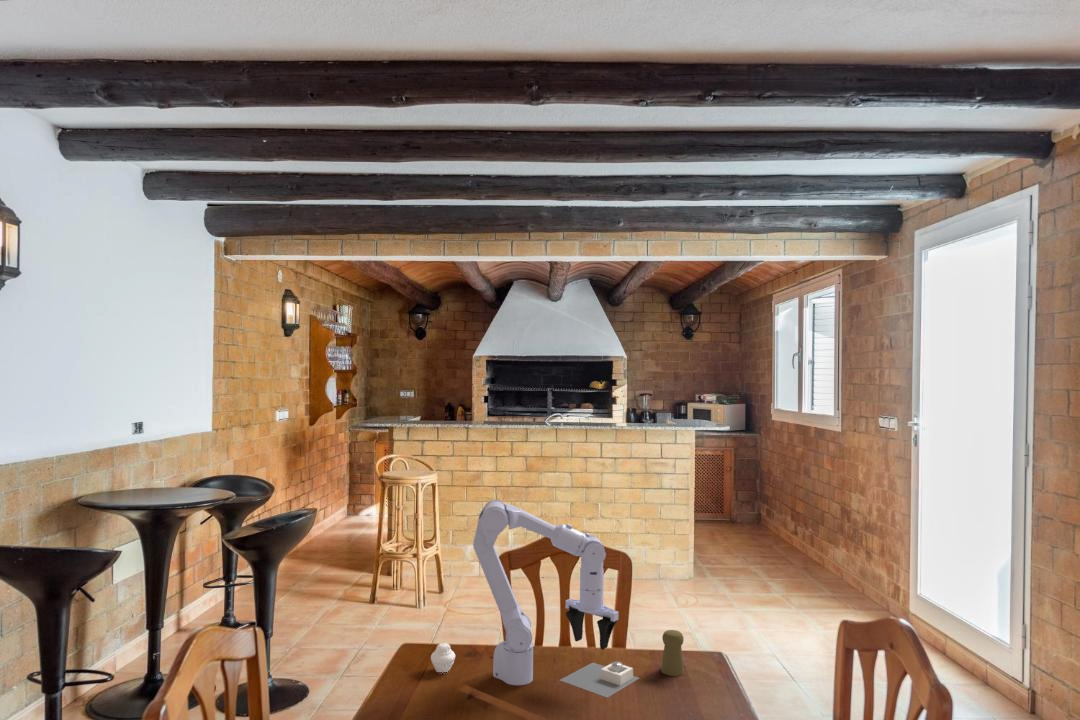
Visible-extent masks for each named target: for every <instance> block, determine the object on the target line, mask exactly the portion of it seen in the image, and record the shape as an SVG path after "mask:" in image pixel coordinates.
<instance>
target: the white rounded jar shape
mask: <svg viewBox="0 0 1080 720" xmlns="http://www.w3.org/2000/svg"><path fill="white" fill-rule="evenodd" d="M430 660H431V663H432V665H433V668H434V669H435V672H436V673H438V672H442V673H443V672H447V673H449V672H450V671H449V670H451V668H452V666H453V665H454V663H455V660H456V654H455V652H454V651H453V650H452V649H451V645H450V644H449V643H448V642H447V643H446V642H442V643H438V644H437V646H436V649H435V650H434V651H433V652H432V653H431V656H430ZM448 671H449V672H448ZM442 673H441V674H442ZM443 674H444V673H443Z"/></svg>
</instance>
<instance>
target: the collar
mask: <svg viewBox="0 0 1080 720" xmlns="http://www.w3.org/2000/svg"><path fill="white" fill-rule="evenodd" d="M633 676H634V668H633V667H630V666H628V665H625V664H623V666H622V672H621V673H617V672H614V671H612V662H611V663H610V664H608V665H606V666H605V667H604V668H602V669H601V679H602V680H605V681H608V682H611V683H614V684H617V685H620V686H621V685H622V684H624V683H626V682H627V681H629V680H631V679H632V678H633Z"/></svg>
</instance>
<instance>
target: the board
mask: <svg viewBox="0 0 1080 720" xmlns="http://www.w3.org/2000/svg"><path fill="white" fill-rule="evenodd" d="M604 667H606V666H605V665H602V664H600V663H599V664H598V663H596V662H591V663H589V664H587V665H585V666H583V667H582V668H579V669H578V670H576V671H574V672H572V673H570V674H568V675H566V676H565V677H562V678H561V679H559V681H560V682H563V683H566V684H567V685H571V686H574V687H576V688H579V689H581V690H585V691H587V692H590V693H593V694H596V695H599V696H601V697H604V698H610V697H611V696H612V695H615V694H616V693H618V692H620V691H621V690H622V689H624V688H626V687H629V685H631V684H633V683H634V682H636V681H638V680H639V679H640V677H638V676H636V675H635V676H634V675H633V678H632V679H631V680H629V681H627V682H626V683H624V684H622V685H621V686H620V685H617V684H614V683H611V682H608V681H605V680H602V679H601V669H602V668H604Z"/></svg>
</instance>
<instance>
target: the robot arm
mask: <svg viewBox="0 0 1080 720" xmlns="http://www.w3.org/2000/svg"><path fill="white" fill-rule="evenodd" d="M507 526H508V530H513V529H517V528H524V529H526V530H528V531H531V532H533V533H536V534H538V535H540V536H543V537H545V538H548V539H550V541H551V544H552V546H553V547H555V548H557V549H559V550H562V551H564V552H567V553H568V554H570V555H572V556H575V557H581V558H580V569H579V571H580V572H579V600H578V599H572V598H568V599H566V600H565V606H564V608H565V609H566V610H567V611H566V612H565V616H566V617H567V620H568V622H569V623H570V626H571V629H572V633H573V637H574V641H575V642H578V641H581V640H582V639H583V633H584V631H583V630H584V619H585V614H588V615H592V616H596V617H600V618H601V619H599V620H597V621H596V624H597V627H598V631H599V648H600V650H605V649H607V648H608V647H609V642H610V637H611V635H612V632H613V630H614V628H615V626H616V624H617V623H618V621H619V611H618V610H614V609H612V608H610V607H609V606H606V605H604V580H605V579H604V574H605V572H604V570H605V569H604V561H605V559H606V557H607V553H606V550H605V547H604V545H603V543H602V542H601V540H600V539H599V538H598V537H596V536H595V535H592V534H590V533H588V532H585V533H584V532H582V531H579V530H577V529H575V528H573V525H572V524H570V523H567V524H564V523H560V524H558V525H554V524H552V523H550V522H548V521H546V520H543V519H541V518H540V517H537V516H536V515H534V514H532V513H529V512H528V511H526V510H524V509H522V508H520V507H517V506H515V505H513V504H510V503H506V504H505V503H504V502H503V501H502V500H498V499H493V500H490V501H488V502H487V503H485V505H484V506H483V508H482V510H481V511H480V513H479V516H478V521H477V523H476V529H475V534H474V539H473V543H472V545H473V549H474V552H475V555H476V558H477V559H478V562H479V564H480V567H481V569H482V571H483V574H484V577H485V579H486V582H487V584H488V586H489V588H490V590H491V591H490V592H491V594H492V595H493V600H494V601H495V603H496V606H497V608H498V611H499V613H500V617H501V620H502V625H503V627H504V630H505V640H504V641H500V642H499V643H498V644H497V645H496V646H495V649H494V652H493V661H492V662H493V663H492V665H493V666H492V667H493V670H492V673H493V674H492V676H493V677H494V678H495V679H498V680H501V681H502V682H504V683H506V684H508V685H512V686H524V685H528V684H530V683H532V682H533V679H534V677H533V676H534V643H533V633H532V628H531V627H532V622H531V620H530V618H529V616H527V614H525V613H524V612H523V611H522V608H521V606H520V604H519V603H518V601H517V598H516V595H515V594H514V591H513V588H512V586H511V583H510V582H509V579H508V576H507V574H506V571H505V568H504V566H503V564H502V562H501V559H500V557H499V555H498V552H497V550H496V547H495V543H496V542H497V539H498V536H499V535H500V534H501V533H502V532H503V531H504V530H505V529H506V528H507Z"/></svg>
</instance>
